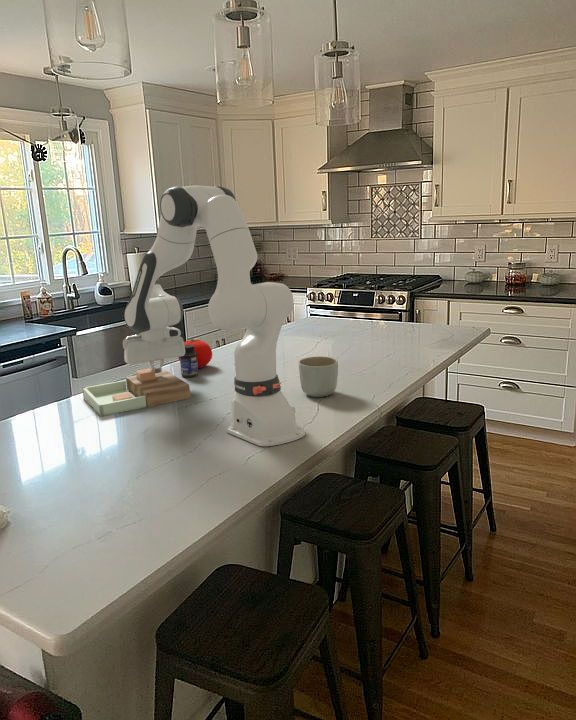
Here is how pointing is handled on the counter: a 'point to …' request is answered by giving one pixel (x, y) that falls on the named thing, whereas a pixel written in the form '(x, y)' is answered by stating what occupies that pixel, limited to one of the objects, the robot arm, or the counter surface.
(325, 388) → the planter
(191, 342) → the tomato
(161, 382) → the board
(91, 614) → the counter surface
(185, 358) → the pill bottle
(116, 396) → the tile
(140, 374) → the tile
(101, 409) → the tray
